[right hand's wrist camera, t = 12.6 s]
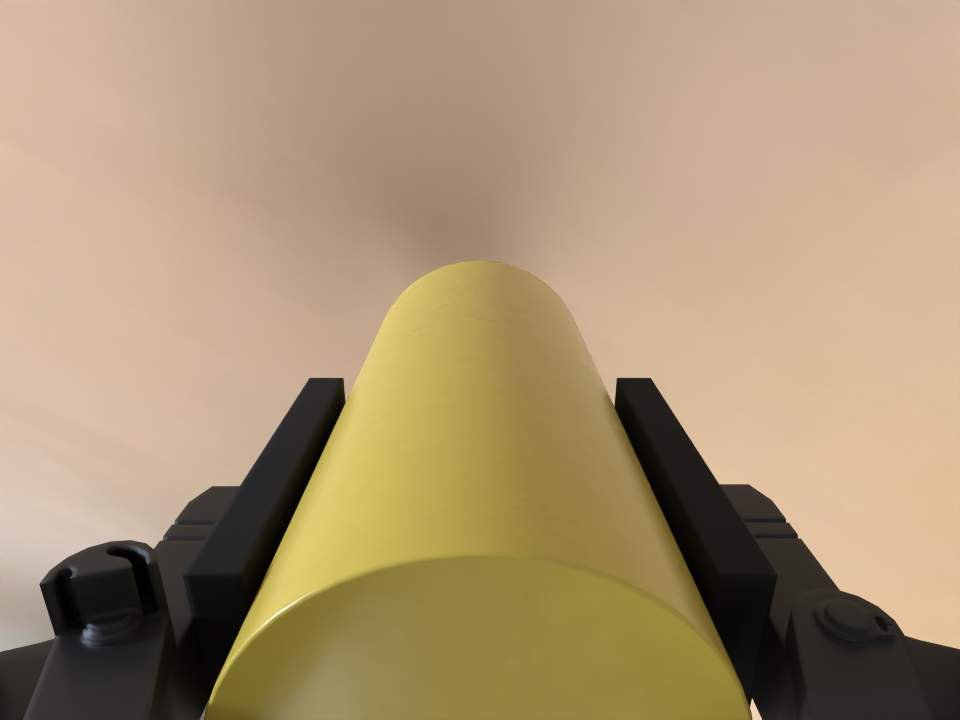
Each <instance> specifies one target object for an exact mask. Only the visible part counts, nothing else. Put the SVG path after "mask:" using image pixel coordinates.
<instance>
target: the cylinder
mask: <svg viewBox="0 0 960 720" xmlns="http://www.w3.org/2000/svg"><path fill="white" fill-rule="evenodd" d="M204 720H752V714H751V710H750V707H749V704H748V701H747V699H746V696H745V693H744V690H743V687H742V685H741V682H740V680H739V678H738V676H737V674H736V672H735V669H734V667H733V665H732V663H731V661H730V658H729V656H728V654H727V652H726V650H725V648H724V645H723V643H722V641H721V639H720V637H719V634H718V632H717V630H716V628H715V626H714V624H713V621H712V619H711V617H710V615H709V613H708V610H707V608H706V606H705V604H704V602H703V600H702V597H701V595H700V593H699V591H698V589H697V586H696V584H695V582H694V580H693V578H692V576H691V573H690V571H689V569H688V567H687V565H686V563H685V560H684V558H683V556H682V554H681V552H680V549H679V547H678V545H677V543H676V541H675V539H674V536H673V534H672V532H671V530H670V528H669V525H668V523H667V521H666V519H665V517H664V515H663V512H662V510H661V508H660V506H659V504H658V501H657V499H656V497H655V495H654V493H653V491H652V488H651V486H650V484H649V482H648V480H647V477H646V475H645V473H644V471H643V469H642V467H641V464H640V462H639V460H638V458H637V456H636V454H635V451H634V449H633V447H632V445H631V443H630V440H629V438H628V436H627V434H626V432H625V430H624V427H623V425H622V423H621V421H620V419H619V416H618V414H617V412H616V410H615V408H614V406H613V403H612V401H611V399H610V397H609V395H608V392H607V390H606V388H605V386H604V384H603V382H602V379H601V377H600V375H599V373H598V371H597V368H596V366H595V364H594V362H593V360H592V358H591V355H590V353H589V351H588V349H587V347H586V344H585V342H584V340H583V338H582V336H581V334H580V331H579V329H578V327H577V325H576V323H575V321H574V318H573V317H572V315H571V313H570V311H569V309H568V307H567V306H566V305H565V303H564V302H563V301H562V299H561V298H560V297H559V296H558V295H557V294H556V293H555V291H554V290H553V289H552V288H551V287H549V286H548V285H547V284H546V283H544V282H543V281H542V280H540V279H539V278H537V277H536V276H534V275H532V274H530V273H529V272H527V271H524V270H522V269H520V268H517V267H515V266H511V265H508V264H504V263H499V262H492V261H467V262H459V263H455V264H451V265H447V266H444V267H441V268H439V269H436V270H434V271H432V272H430V273H428V274H426V275H425V276H423V277H421V278H419V279H418V280H417V281H416V282H414V283H413V284H412V285H410V286H409V287H408V288H407V289H406V290H405V291H404V292H403V293H402V294H401V295H400V296H399V297H398V299H397V300H396V301H395V303H394V304H393V305H392V307H391V308H390V310H389V312H388V314H387V316H386V317H385V319H384V322H383V324H382V326H381V328H380V330H379V332H378V334H377V337H376V339H375V341H374V343H373V345H372V347H371V350H370V352H369V354H368V356H367V358H366V360H365V362H364V365H363V367H362V369H361V371H360V373H359V375H358V378H357V380H356V382H355V384H354V386H353V388H352V390H351V393H350V395H349V397H348V399H347V401H346V403H345V406H344V408H343V410H342V412H341V414H340V416H339V418H338V421H337V423H336V425H335V427H334V429H333V431H332V434H331V436H330V438H329V440H328V442H327V444H326V446H325V449H324V451H323V453H322V455H321V457H320V459H319V461H318V464H317V466H316V468H315V470H314V472H313V474H312V477H311V479H310V481H309V483H308V485H307V487H306V489H305V492H304V494H303V496H302V498H301V500H300V502H299V505H298V507H297V509H296V511H295V513H294V515H293V517H292V520H291V522H290V524H289V526H288V528H287V530H286V533H285V535H284V537H283V539H282V541H281V543H280V545H279V548H278V550H277V552H276V554H275V556H274V558H273V561H272V563H271V565H270V567H269V569H268V571H267V573H266V576H265V578H264V580H263V582H262V584H261V586H260V589H259V591H258V593H257V595H256V597H255V599H254V601H253V604H252V606H251V608H250V610H249V612H248V614H247V616H246V619H245V621H244V623H243V625H242V627H241V629H240V632H239V634H238V636H237V638H236V640H235V642H234V644H233V647H232V649H231V651H230V653H229V655H228V657H227V660H226V662H225V664H224V666H223V668H222V670H221V672H220V675H219V677H218V679H217V681H216V683H215V686H214V688H213V691H212V694H211V697H210V700H209V702H208V705H207V708H206V711H205V718H204Z"/></svg>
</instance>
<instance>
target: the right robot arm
mask: <svg viewBox="0 0 960 720" xmlns="http://www.w3.org/2000/svg"><path fill="white" fill-rule="evenodd" d="M344 406H345V392H344V380H343V378H309V380H308V382H307V383H306V385H305V386H304V388H303V389H302V391H301V392H300V394H299V396H298V397H297V399H296V400H295V402H294V403H293V405H292V406H291V408H290V409H289V411H288V413H287V414H286V416H285V417H284V419H283V420H282V422H281V423H280V425H279V427H278V428H277V430H276V431H275V433H274V434H273V436H272V437H271V439H270V441H269V442H268V444H267V445H266V447H265V448H264V450H263V451H262V453H261V454H260V456H259V458H258V459H257V461H256V462H255V464H254V465H253V467H252V468H251V470H250V472H249V473H248V475H247V476H246V478H245V479H244V481H243V482H242V484H241V486H212V487H211V488H209V489H208V490H206V491H205V492H203V493H202V494H200V495H199V496H198V497H196V498H195V499H193V500H192V501H190V502H189V503H188V504H187V506H186V507H185V508H184V510H183V511H182V512H181V514H180V515H179V516H178V518H177V519H176V520H175V525H172V526H171V527H170V528H169V530H168V531H167V532H166V534H165V535H164V536H163V541H160V542H159V543H158V544H157V546H156V547H155V548H154V549H152V548H151V547H150V546H149V545H148V544H146V543H141V542H137V541H132V540H127V541H113V542H108V543H104V544H100V545H96V546H93V547H89V548H87V549H85V550H82V551H80V552H78V553H76V554H74V555H72V556H70V557H67V558H66V559H65V560H63V561H62V562H61V563H59V564H58V565H57V566H55V567H54V568H52V569H51V570H50V571H49V572H48V574H47V575H46V576H45V578H44V579H43V580H42V581H41V583H40V588H41V591H42V594H43V597H44V600H45V604H46V607H47V610H48V613H49V616H50V620H51V623H52V626H53V629H54V632H55V636H56V637H55V639H52V640H49V641H45V642H42V643H38V644H33V645H29V646H25V647H20V648H16V649H12V650H7V651H3V652H0V720H200V718H201V715H202V713H203V711H204V709H205V707H206V705H207V702H208V700H210V697H211V694H212V691H213V688H214V686H215V683H216V681H217V679H218V677H219V675H220V672H221V670H222V668H223V666H224V664H225V662H226V660H227V657H228V655H229V653H230V651H231V649H232V647H233V644H234V642H235V640H236V638H237V636H238V634H239V632H240V629H241V627H242V625H243V623H244V621H245V619H246V616H247V614H248V612H249V610H250V608H251V606H252V604H253V601H254V599H255V597H256V595H257V593H258V591H259V589H260V586H261V584H262V582H263V580H264V578H265V576H266V573H267V571H268V569H269V567H270V565H271V563H272V561H273V558H274V556H275V554H276V552H277V550H278V548H279V545H280V543H281V541H282V539H283V537H284V535H285V533H286V530H287V528H288V526H289V524H290V522H291V520H292V517H293V515H294V513H295V511H296V509H297V507H298V505H299V502H300V500H301V498H302V496H303V494H304V492H305V489H306V487H307V485H308V483H309V481H310V479H311V477H312V474H313V472H314V470H315V468H316V466H317V464H318V461H319V459H320V457H321V455H322V453H323V451H324V449H325V446H326V444H327V442H328V440H329V438H330V436H331V434H332V431H333V429H334V427H335V425H336V423H337V421H338V418H339V416H340V414H341V412H342V410H343V408H344ZM615 410H616V412H617V414H618V416H619V419H620V421H621V423H622V425H623V427H624V430H625V432H626V434H627V436H628V438H629V440H630V443H631V445H632V447H633V449H634V451H635V454H636V456H637V458H638V460H639V462H640V464H641V467H642V469H643V471H644V473H645V475H646V477H647V480H648V482H649V484H650V486H651V488H652V491H653V493H654V495H655V497H656V499H657V501H658V504H659V506H660V508H661V510H662V512H663V515H664V517H665V519H666V521H667V523H668V525H669V528H670V530H671V532H672V534H673V536H674V539H675V541H676V543H677V545H678V547H679V549H680V552H681V554H682V556H683V558H684V560H685V563H686V565H687V567H688V569H689V571H690V573H691V576H692V578H693V580H694V582H695V584H696V586H697V589H698V591H699V593H700V595H701V597H702V600H703V602H704V604H705V606H706V608H707V610H708V613H709V615H710V617H711V619H712V621H713V624H714V626H715V628H716V630H717V632H718V634H719V637H720V639H721V641H722V643H723V645H724V648H725V650H726V652H727V654H728V656H729V658H730V661H731V663H732V665H733V667H734V669H735V672H736V674H737V676H738V678H739V680H740V682H741V685H742V687H743V690H744V693H745V696H746V699H747V701H748V704H749V707H750V705H751V700H752V698H753V701H754V703H755V705H756V707H757V709H758V711H759V714H760V716H761V718H762V720H960V649H956V648H952V647H947V646H943V645H938V644H934V643H930V642H925V641H921V640H917V639H914V638H910V637H907V636H905V635H904V634H903V632H902V631H901V629H900V628H899V626H898V625H897V623H896V622H895V620H894V619H892V618H891V617H890V616H889V615H888V614H886V613H885V612H884V611H883V610H882V609H880V608H879V607H878V606H876V605H874V604H872V603H870V602H868V601H866V600H864V599H863V598H861V597H859V596H856V595H853V594H849V593H846V592H843V591H840V590H839V589H838V587H837V586H836V585H835V583H834V582H833V581H832V579H831V578H830V577H829V575H828V574H827V573H826V571H825V570H824V569H823V568H822V566H821V565H820V564H819V562H818V561H817V560H816V558H815V557H814V556H813V554H812V553H811V552H810V550H809V549H808V548H807V546H806V545H805V544H804V542H803V541H802V540H801V539H798V534H797V533H796V532H795V530H794V529H793V528H792V526H791V525H790V524H789V523H786V518H785V517H784V516H783V514H782V513H781V512H780V511H779V509H778V508H777V507H776V505H775V504H774V503H773V501H772V500H770V499H769V498H768V497H766V496H765V495H763V494H762V493H760V492H759V491H757V490H756V489H754V488H753V487H752V486H750V485H749V484H719V483H718V482H717V480H716V479H715V477H714V476H713V474H712V472H711V471H710V469H709V468H708V466H707V465H706V463H705V462H704V460H703V459H702V457H701V455H700V454H699V452H698V451H697V449H696V448H695V446H694V445H693V443H692V441H691V440H690V438H689V437H688V435H687V434H686V432H685V431H684V429H683V427H682V426H681V424H680V423H679V421H678V420H677V418H676V417H675V415H674V414H673V412H672V410H671V409H670V407H669V406H668V404H667V403H666V401H665V400H664V398H663V396H662V395H661V393H660V392H659V390H658V389H657V387H656V386H655V384H654V383H653V381H652V379H651V378H617V384H616V396H615Z"/></svg>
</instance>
